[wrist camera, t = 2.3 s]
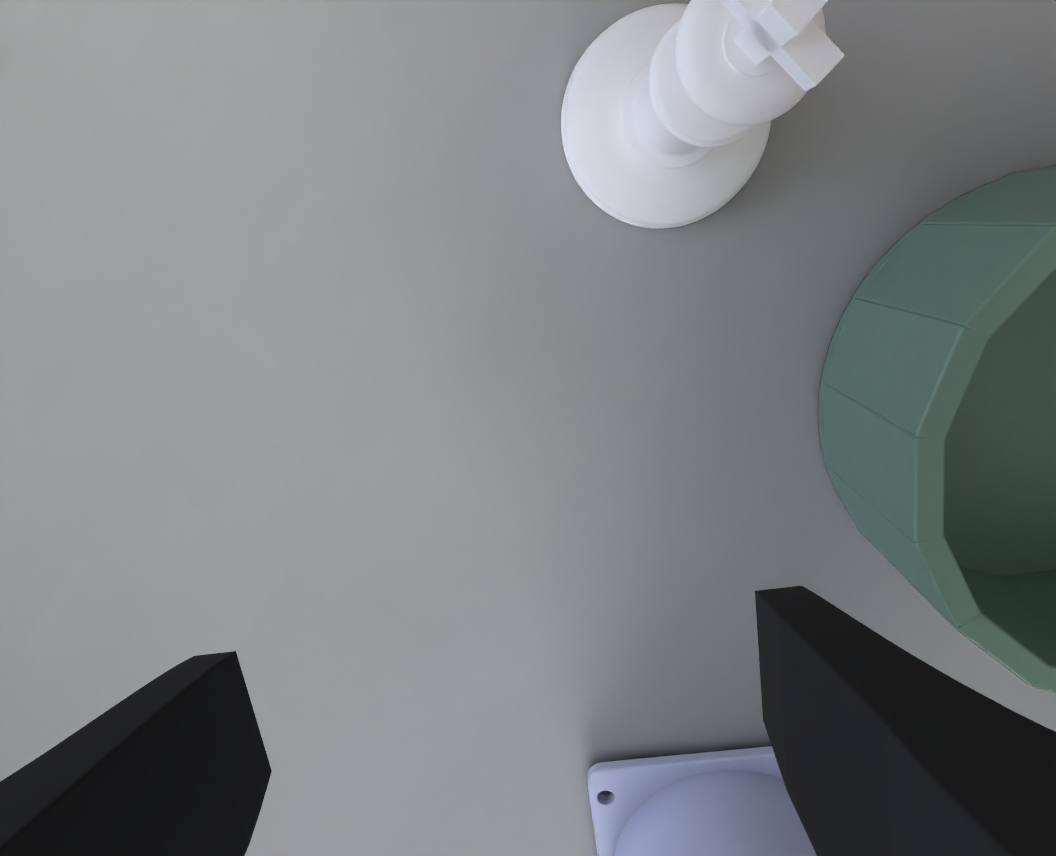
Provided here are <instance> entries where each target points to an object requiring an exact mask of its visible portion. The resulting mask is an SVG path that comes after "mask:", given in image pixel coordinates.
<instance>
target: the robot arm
mask: <svg viewBox="0 0 1056 856" xmlns="http://www.w3.org/2000/svg"><path fill="white" fill-rule="evenodd" d="M755 598H756V613H757V629H758V645H759V661H760V676H761V692H762V708H763V721H764V724H765V727H766V730H767V733H768V736H769V739H770V742H771V745H772V746H768V747H758V748H747V749H736V750H726V751H715V752H704V753H694V754H683V755H672V756H662V757H651V758H641V759H630V760H619V761H609V762H600V763H596V764H594V765H593V766H592V767H590V769H589V771H588V773H587V783H588V791H589V798H590V805H591V812H592V819H593V826H594V833H595V840H596V847H597V854H598V856H1056V732H1055V731H1053V730H1050V729H1048V728H1046V727H1044V726H1042V725H1040V724H1038V723H1036V722H1034V721H1032V720H1030V719H1028V718H1026V717H1024V716H1022V715H1020V714H1018V713H1016V712H1014V711H1012V710H1010V709H1008V708H1006V707H1004V706H1002V705H1000V704H999V703H997V702H995V701H993V700H991V699H989V698H987V697H986V696H984V695H982V694H980V693H978V692H976V691H974V690H973V689H971V688H969V687H967V686H965V685H963V684H961V683H960V682H958V681H956V680H954V679H952V678H951V677H949V676H947V675H945V674H944V673H942V672H940V671H938V670H937V669H935V668H933V667H932V666H930V665H928V664H926V663H925V662H923V661H921V660H920V659H918V658H916V657H915V656H913V655H911V654H910V653H908V652H906V651H905V650H903V649H901V648H900V647H898V646H897V645H895V644H893V643H892V642H890V641H888V640H887V639H885V638H884V637H882V636H881V635H879V634H877V633H876V632H874V631H873V630H871V629H869V628H868V627H866V626H865V625H863V624H862V623H860V622H859V621H857V620H855V619H854V618H852V617H851V616H849V615H848V614H846V613H845V612H843V611H841V610H840V609H838V608H837V607H835V606H834V605H832V604H831V603H829V602H827V601H826V600H824V599H823V598H821V597H820V596H818V595H816V594H815V593H813V592H812V591H810V590H808V589H806V588H805V587H803V586H795V587H786V588H778V589H769V590H760V591H755ZM270 775H271V768H270V764H269V761H268V758H267V754H266V751H265V748H264V744H263V741H262V738H261V734H260V731H259V727H258V724H257V721H256V717H255V714H254V711H253V707H252V704H251V701H250V697H249V694H248V691H247V687H246V684H245V681H244V677H243V674H242V671H241V667H240V664H239V661H238V657H237V654H236V651H234V652H225V653H217V654H208V655H199V656H193V657H192V658H190V659H188V660H186V661H184V662H182V663H180V664H179V665H177V666H175V667H173V668H172V669H170V670H168V671H167V672H165V673H164V674H162V675H160V676H159V677H157V678H156V679H154V680H153V681H151V682H150V683H148V684H147V685H145V686H143V687H142V688H140V689H139V690H137V691H136V692H134V693H133V694H131V695H130V696H128V697H127V698H126V699H124V700H123V701H121V702H120V703H118V704H117V705H115V706H114V707H112V708H111V709H109V710H108V711H106V712H105V713H103V714H102V715H100V716H99V717H98V718H96V719H95V720H93V721H92V722H90V723H89V724H87V725H86V726H84V727H83V728H81V729H80V730H78V731H77V732H75V733H74V734H72V735H71V736H70V737H68V738H67V739H65V740H64V741H62V742H61V743H59V744H58V745H56V746H55V747H53V748H52V749H50V750H49V751H47V752H46V753H44V754H43V755H41V756H40V757H38V758H37V759H35V760H34V761H32V762H30V763H29V764H27V765H26V766H24V767H23V768H21V769H20V770H18V771H16V772H15V773H13V774H12V775H10V776H9V777H7V778H6V779H4V780H2V781H1V782H0V856H244V855H245V853H246V850H247V848H248V846H249V843H250V840H251V837H252V834H253V831H254V828H255V825H256V822H257V819H258V816H259V813H260V809H261V806H262V803H263V799H264V796H265V792H266V789H267V785H268V782H269V778H270ZM604 790H606V791H610V792H611V793H610V794H607V795H603V794H600V792H601V791H604Z"/></svg>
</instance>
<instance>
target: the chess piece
mask: <svg viewBox="0 0 1056 856" xmlns="http://www.w3.org/2000/svg"><path fill="white" fill-rule="evenodd" d="M827 1H828V0H691V1H690V2H689V4H680V3H669V4H659V5H654V6H650V7H646V8H643V9H640V10H637V11H635V12H633V13H630V14H628V15H626V16H625V17H623V18H621V19H620V20H618V21H617V22H615V23H614V24H612V25H611V26H610V27H608V28H607V29H606V30H605V31H604V32H602V33H601V34H600V35H599V36H598V37H597V38H596V39H595V40H594V41H593V42H592V43H591V44H590V46H589V47H588V48H587V49H586V51H585V52H584V53H583V55H582V56H581V58H580V59H579V61H578V63H577V64H576V66H575V68H574V70H573V72H572V74H571V77H570V79H569V82H568V85H567V88H566V91H565V95H564V99H563V105H562V113H561V135H562V142H563V148H564V152H565V156H566V159H567V162H568V165H569V167H570V169H571V172H572V174H573V176H574V178H575V179H576V181H577V183H578V184H579V186H580V187H581V189H582V190H583V191H584V193H585V194H586V195H587V196H588V197H589V198H590V199H591V200H592V201H593V202H594V203H595V204H596V205H597V206H598V207H599V208H601V209H602V210H603V211H605V212H606V213H608V214H609V215H611V216H613V217H615V218H616V219H619V220H621V221H623V222H626V223H628V224H632V225H635V226H639V227H645V228H656V229H662V228H673V227H679V226H683V225H687V224H690V223H693V222H696V221H698V220H701V219H703V218H705V217H707V216H708V215H710V214H712V213H714V212H715V211H717V210H718V209H719V208H721V207H722V206H723V205H725V204H726V203H727V202H728V201H729V200H730V199H731V198H733V197H734V196H735V195H736V194H737V193H738V192H739V191H740V189H741V188H742V187H743V186H744V185H745V184H746V182H747V181H748V180H749V178H750V177H751V175H752V174H753V172H754V171H755V169H756V167H757V165H758V163H759V161H760V159H761V157H762V155H763V152H764V150H765V147H766V144H767V140H768V137H769V132H770V126H771V120H773V119H775V118H777V117H779V116H781V115H782V114H784V113H785V112H787V111H788V110H790V109H791V108H792V107H793V106H794V105H796V104H797V103H798V102H799V101H800V100H801V99H802V97H803V96H804V95H805V94H806V93H807V91H808V90H809V89H811V88H813V87H815V86H817V85H818V84H819V83H820V82H821V81H822V79H823V78H824V77H825V76H826V75H827V74H828V73H829V72H830V71H831V70H832V69H833V68H834V67H835V65H836V64H837V63H838V62H839V61H840V60H841V59H842V58H843V57H844V56H845V55H844V54H843V53H842V52H841V51H840V49H839V48H838V47H837V46H836V45H835V44H834V43H833V42H832V41H831V40H830V39H829V37H828V36H827V35H826V26H825V19H824V15H823V11H822V7H823V6H824V5H825V4H826V2H827Z"/></svg>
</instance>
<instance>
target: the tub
mask: <svg viewBox="0 0 1056 856" xmlns="http://www.w3.org/2000/svg"><path fill="white" fill-rule="evenodd" d="M818 424H819V433H820V443H821V448H822V452H823V456H824V460H825V464H826V468H827V471H828V474H829V476H830V478H831V481H832V483H833V486H834V488H835V490H836V493H837V494H838V496H839V498H840V499H841V501H842V503H843V504H844V506H845V508H846V509H847V511H848V513H849V514H850V515H851V516H852V518H853V520H854V522H855V524H856V526H857V528H858V530H859V531H860V532H861V534H862V535H863V536H864V537H865V538H866V539H867V540H868V541H869V542H870V543H871V544H872V545H873V546H874V547H875V548H876V549H877V550H878V551H879V552H880V553H881V554H882V555H883V556H884V557H885V558H886V559H887V560H888V561H889V562H890V563H891V564H892V565H893V566H894V567H895V568H896V569H897V570H898V571H899V572H900V573H901V574H902V575H903V576H904V577H905V578H906V579H907V580H908V581H909V582H910V583H911V584H912V585H913V586H914V587H915V588H916V589H917V590H918V591H919V592H920V593H921V594H922V595H923V596H924V597H925V598H926V599H927V600H928V601H929V602H930V603H931V604H932V605H933V606H934V607H935V608H936V609H937V610H938V611H939V612H940V613H941V614H942V616H943V617H944V618H945V619H946V620H947V621H948V622H949V623H950V624H951V625H952V626H953V627H954V628H955V629H956V630H957V631H959V632H960V633H961V634H963V635H964V636H965V637H967V638H968V639H969V640H970V641H972V642H973V643H974V644H976V645H977V646H978V647H980V648H981V649H982V650H984V651H985V652H986V653H987V654H989V655H990V656H991V657H993V658H994V659H995V660H997V661H998V662H999V663H1001V664H1002V665H1003V666H1004V667H1006V668H1007V669H1008V670H1010V671H1011V672H1012V673H1014V674H1015V675H1016V676H1018V677H1019V678H1020V679H1021V680H1023V681H1024V682H1025V683H1027V684H1029V685H1031V686H1033V687H1035V688H1039V689H1043V690H1047V691H1051V692H1055V693H1056V166H1053V167H1046V168H1041V169H1034V170H1027V171H1020V172H1014V173H1012V174H1007V175H1006V176H1004V177H1002V178H1000V179H998V180H996V181H993V182H990V183H987V184H985V185H983V186H981V187H979V188H976V189H974V190H972V191H970V192H968V193H966V194H964V195H962V196H960V197H958V198H956V199H954V200H953V201H951V202H949V203H948V204H946V205H945V206H943V207H941V208H940V209H938V210H937V211H935V212H934V213H932V214H930V215H929V216H927V217H926V218H925V219H924V220H922V221H921V222H920V223H919V224H917V225H916V226H915V227H914V228H913V229H911V230H910V231H909V232H908V233H906V234H905V235H904V236H903V237H902V238H901V239H900V240H899V241H898V242H897V243H896V244H895V245H894V246H893V247H892V248H891V249H890V250H889V251H888V252H887V253H886V254H885V255H884V256H883V257H882V258H881V259H880V260H879V261H878V263H877V264H876V265H875V266H874V268H873V269H872V270H871V272H870V273H869V274H868V275H867V277H866V278H865V279H864V281H863V282H862V283H861V284H860V286H859V288H858V289H857V291H856V293H855V294H854V296H853V298H852V299H851V301H850V303H849V304H848V306H847V307H846V309H845V311H844V313H843V315H842V317H841V320H840V322H839V324H838V326H837V328H836V331H835V333H834V335H833V337H832V340H831V344H830V347H829V350H828V353H827V357H826V360H825V363H824V367H823V373H822V379H821V384H820V390H819V408H818Z"/></svg>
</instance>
